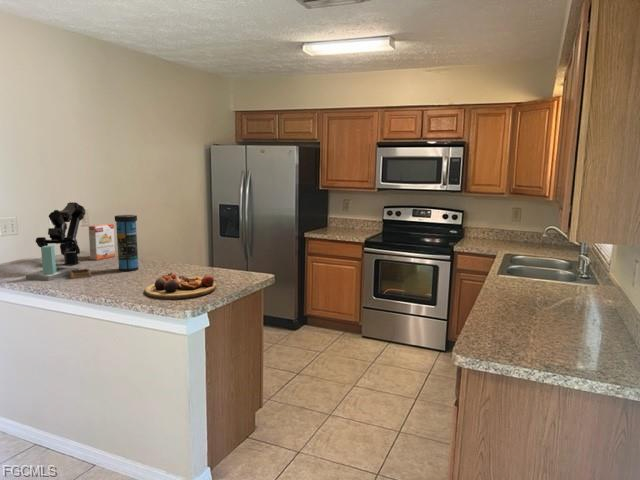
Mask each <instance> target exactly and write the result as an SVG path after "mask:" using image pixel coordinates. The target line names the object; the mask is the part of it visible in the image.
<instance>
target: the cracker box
mask: <svg viewBox="0 0 640 480" xmlns="http://www.w3.org/2000/svg"><path fill="white" fill-rule="evenodd" d="M114 227H115V225H114V223H102V224H93V225H88V236H89V237H88V238H89V239H88V241H89V258H90V260H93V261H100V260H105V259H110V258H114V257H116V250H115V247H116V246H115V228H114Z"/></svg>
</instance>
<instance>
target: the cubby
mask: <svg viewBox="0 0 640 480" xmlns="http://www.w3.org/2000/svg"><path fill="white" fill-rule="evenodd" d="M68 276H69V277H70V279H71V280H75V279H85V278H91V277H92V271H91V270H90V269H89V268H83V269H79V270H72V271H69V275H68Z"/></svg>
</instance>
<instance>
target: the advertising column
mask: <svg viewBox="0 0 640 480" xmlns="http://www.w3.org/2000/svg"><path fill="white" fill-rule="evenodd" d="M137 221H138V215H136V214H119V215H114V222H115V226H116V227H115V228H116V240H117V245H116V246H117V257H118V259H117V260H118V272H122V273H130V272H136V271H138V270H139V253H138V233H137Z"/></svg>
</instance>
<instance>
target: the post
mask: <svg viewBox="0 0 640 480" xmlns="http://www.w3.org/2000/svg"><path fill="white" fill-rule="evenodd" d="M55 249H56V248H55V245H48V246H43V247H40V251H41V252H40V253H41V264H42V270H43V275H52V274H55V273H56V267H57V265H56V262H57V261H56V252H55Z"/></svg>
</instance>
